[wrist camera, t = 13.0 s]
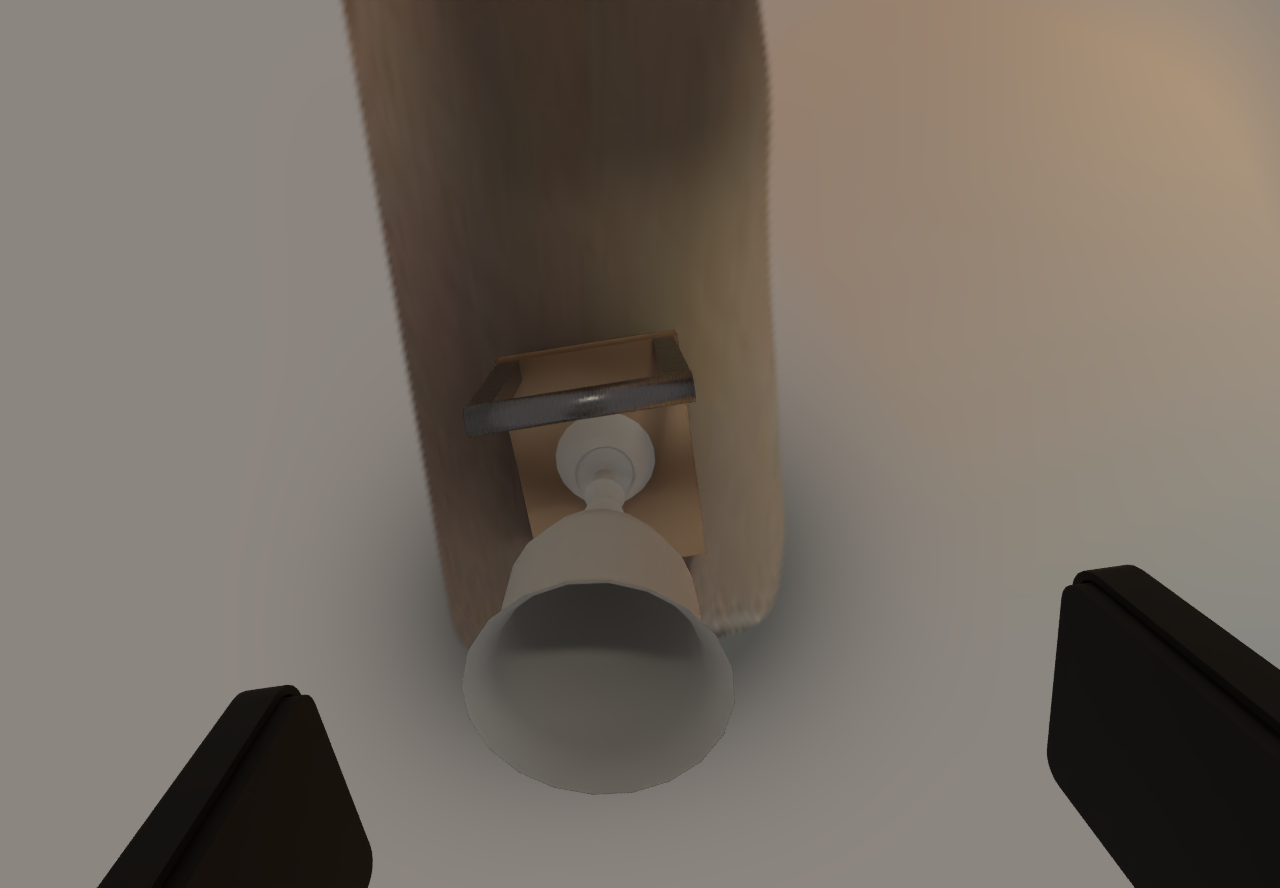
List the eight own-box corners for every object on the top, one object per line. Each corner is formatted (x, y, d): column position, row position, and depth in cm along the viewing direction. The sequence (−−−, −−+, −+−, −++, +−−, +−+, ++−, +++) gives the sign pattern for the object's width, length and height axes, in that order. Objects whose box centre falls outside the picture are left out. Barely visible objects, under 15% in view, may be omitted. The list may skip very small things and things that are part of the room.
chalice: (514, 490, 36) (427, 749, 19) (562, 372, 34) (513, 540, 17) (644, 538, 37) (672, 823, 20) (698, 427, 35) (780, 636, 18)
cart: (505, 346, 37) (455, 411, 25) (670, 320, 37) (698, 373, 25) (548, 545, 41) (523, 682, 29) (697, 522, 41) (733, 649, 29)
